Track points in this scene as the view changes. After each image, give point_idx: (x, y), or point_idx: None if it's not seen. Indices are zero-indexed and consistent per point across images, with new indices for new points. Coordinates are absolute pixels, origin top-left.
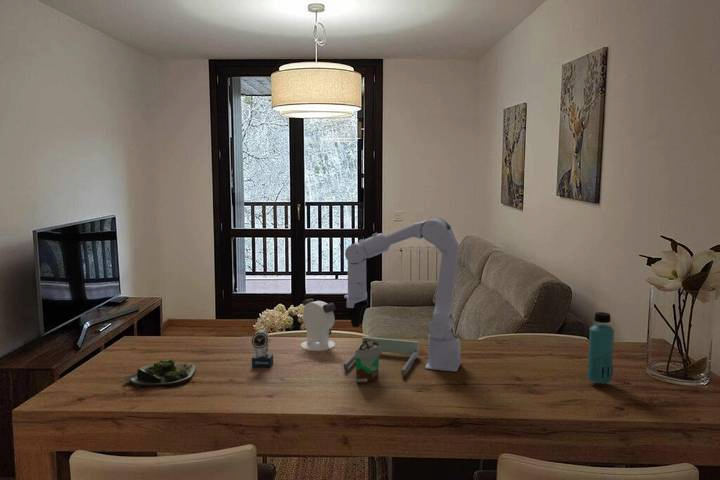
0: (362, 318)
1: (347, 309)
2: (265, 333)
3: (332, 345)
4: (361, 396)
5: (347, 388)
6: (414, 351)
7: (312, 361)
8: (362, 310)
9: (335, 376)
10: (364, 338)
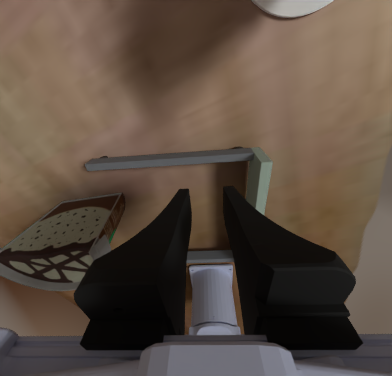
0: (228, 236)
1: (112, 255)
2: None
3: (304, 3)
4: (27, 223)
5: (33, 194)
6: (233, 258)
7: (111, 13)
8: (238, 275)
9: (62, 148)
10: (90, 253)
